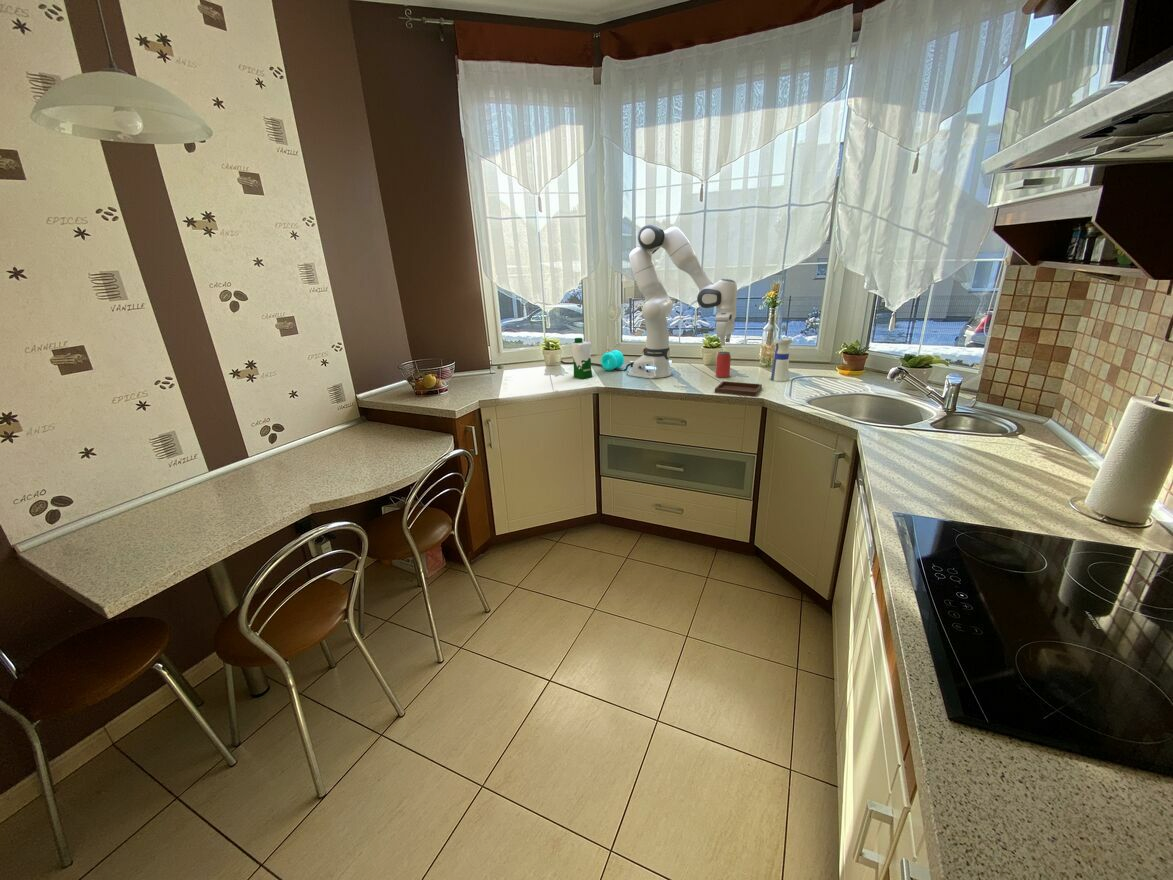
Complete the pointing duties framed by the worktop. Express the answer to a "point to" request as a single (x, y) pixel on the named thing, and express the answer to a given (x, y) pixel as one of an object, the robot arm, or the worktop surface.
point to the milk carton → (581, 358)
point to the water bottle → (781, 359)
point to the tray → (738, 388)
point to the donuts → (612, 360)
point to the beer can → (723, 364)
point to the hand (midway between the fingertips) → (725, 343)
